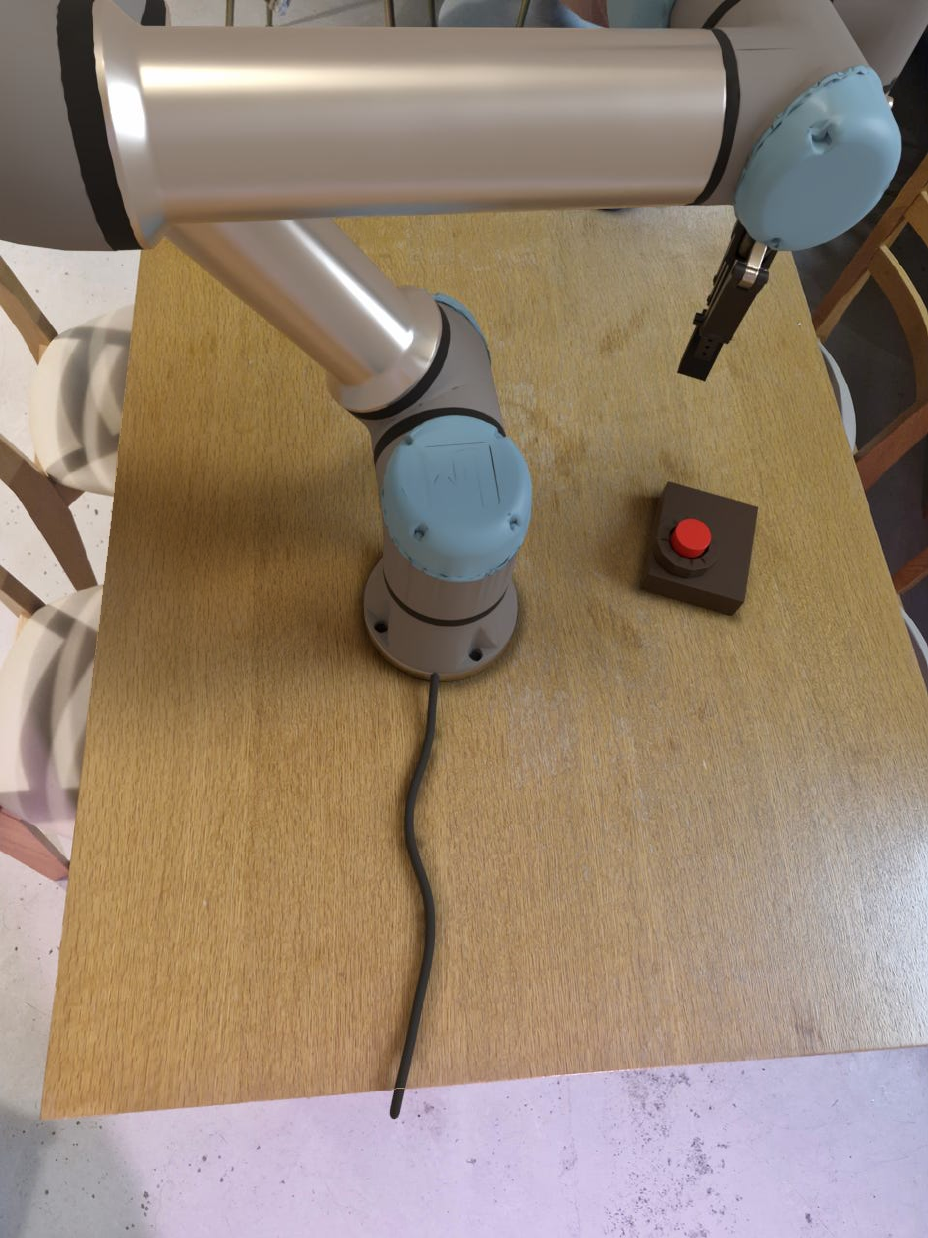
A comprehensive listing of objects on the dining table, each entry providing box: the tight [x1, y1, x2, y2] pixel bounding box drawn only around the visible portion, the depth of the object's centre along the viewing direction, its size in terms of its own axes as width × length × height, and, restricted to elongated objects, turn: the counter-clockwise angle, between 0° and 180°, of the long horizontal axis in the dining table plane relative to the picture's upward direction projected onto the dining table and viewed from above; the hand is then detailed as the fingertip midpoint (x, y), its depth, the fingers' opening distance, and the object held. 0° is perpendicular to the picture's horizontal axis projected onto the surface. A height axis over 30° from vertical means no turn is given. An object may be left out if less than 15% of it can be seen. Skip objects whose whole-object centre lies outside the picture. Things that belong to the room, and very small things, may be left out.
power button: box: [671, 519, 711, 558], centre depth 85 cm, size 4×4×2 cm
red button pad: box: [639, 480, 759, 617], centre depth 89 cm, size 12×10×5 cm
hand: (692, 371), depth 79 cm, fingers closed
